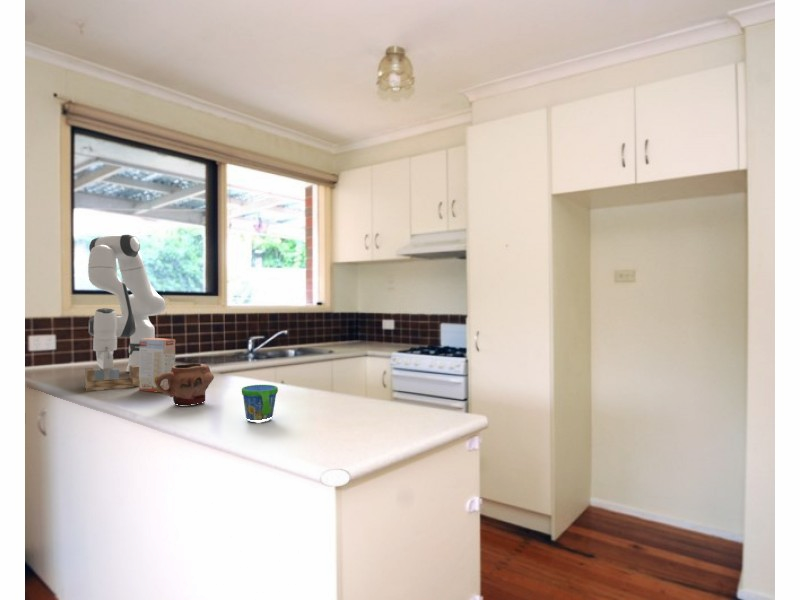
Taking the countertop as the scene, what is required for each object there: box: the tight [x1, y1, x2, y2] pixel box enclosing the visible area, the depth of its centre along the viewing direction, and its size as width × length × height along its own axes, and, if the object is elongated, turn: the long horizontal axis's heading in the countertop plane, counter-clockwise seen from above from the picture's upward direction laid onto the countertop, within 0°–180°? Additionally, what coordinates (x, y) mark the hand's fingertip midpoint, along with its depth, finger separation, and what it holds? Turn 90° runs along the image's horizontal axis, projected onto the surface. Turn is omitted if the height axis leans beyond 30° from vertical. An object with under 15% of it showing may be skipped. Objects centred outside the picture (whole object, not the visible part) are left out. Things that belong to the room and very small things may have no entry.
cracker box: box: [138, 337, 176, 393], centre depth 193 cm, size 14×6×21 cm, turn 65°
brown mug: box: [156, 363, 215, 405], centre depth 168 cm, size 20×12×14 cm, turn 146°
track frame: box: [84, 365, 139, 392], centre depth 199 cm, size 18×8×8 cm, turn 128°
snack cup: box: [241, 384, 279, 420], centre depth 147 cm, size 16×11×10 cm
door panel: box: [94, 367, 120, 381], centre depth 209 cm, size 10×2×6 cm, turn 128°
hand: (104, 378), depth 209 cm, fingers open, 8 cm apart
